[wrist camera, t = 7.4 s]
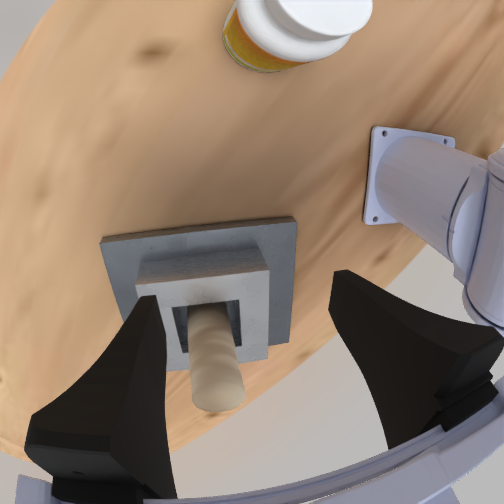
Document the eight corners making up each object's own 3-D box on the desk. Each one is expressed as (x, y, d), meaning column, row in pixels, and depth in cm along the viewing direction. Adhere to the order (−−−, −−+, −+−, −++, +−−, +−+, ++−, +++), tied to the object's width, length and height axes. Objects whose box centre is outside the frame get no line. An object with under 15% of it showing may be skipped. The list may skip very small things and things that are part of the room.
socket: (292, 216, 22) (312, 240, 19) (286, 335, 28) (298, 366, 24) (102, 237, 20) (88, 265, 16) (139, 352, 26) (136, 386, 22)
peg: (222, 282, 22) (242, 379, 15) (227, 312, 24) (248, 406, 16) (182, 289, 22) (186, 388, 14) (190, 319, 23) (198, 414, 16)
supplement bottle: (296, 81, 17) (379, 74, 9) (214, 65, 16) (237, 31, 8) (309, 13, 15) (393, -31, 7) (230, -6, 14) (265, -79, 5)
